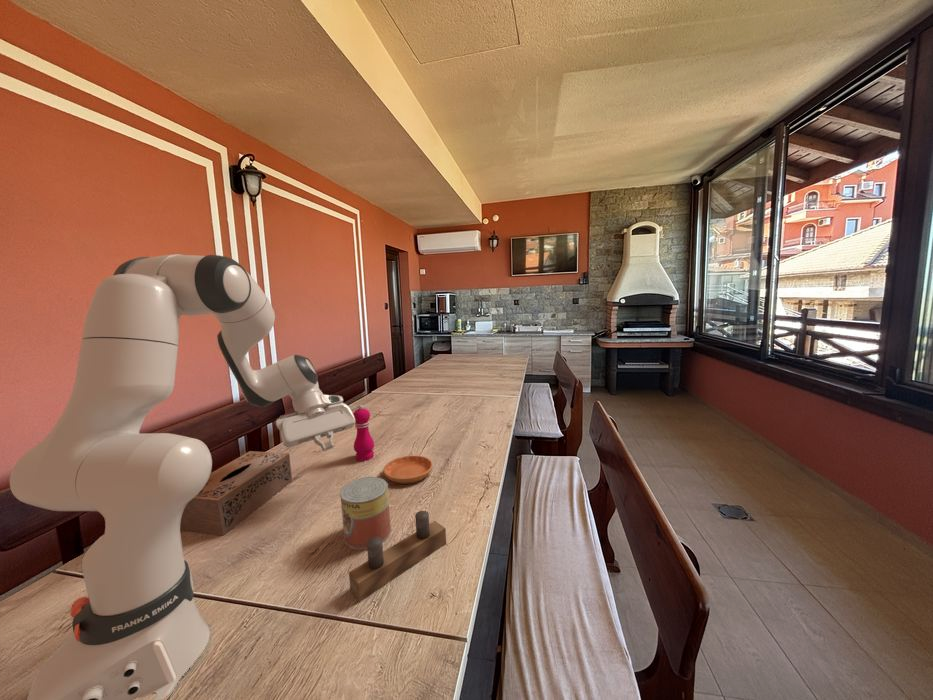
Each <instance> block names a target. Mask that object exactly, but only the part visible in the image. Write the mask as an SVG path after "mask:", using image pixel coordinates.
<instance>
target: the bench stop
mask: <svg viewBox="0 0 933 700" xmlns="http://www.w3.org/2000/svg"><path fill="white" fill-rule="evenodd" d="M414 517H415V518H414V519H415V532H413V533H411V534H410V535H408V536H407V537H405V538H403V539H402V540H400V541H399V542H397V543H395V544H393V545H391V546H390V547H388V548H387V549H385V550H384V548H383V542H382V539H381V538H380V537H372V538H370V539H369V540H368V541H367V549H366V551H367V560H366V561H365V562H364V563H362V564H360V565H358V566H356V567H355V568H354V569H352V570H350V571H348V579H349V588H350V591H351V592H352V594H353V595H354V596H355V597H356V598H357V600H358V601H359V602H362V601H363V600H364V599H366V598H368V597H369V596H370V595H371V596H372V594H374V593H375V592H376V591H379V589H381V588H382V587H385V586H386V585H387V584H388V583H390V582H391V581H393V580H394V579H396V578H397V577H399V576H400V575H402V574H404V572H406V571H408V570H409V569H411V568H412V567H414V566H415V565H417V564H418V563H420V562H421V561H422V560H424V559H426V558H427V557H429V556H430V555H431V554H433V553H435V552H436V551H437V550H439V549H440V548H442V547H443V546H445V545H446V544H447V534H446V533H447V531H446V527H444V526H443V525H442V524H440V523H439V522H437V521H436V520H433V521H432V522H430V514H429V512H428V511H427V510H420V511H418V512H416V513H415V516H414Z"/></svg>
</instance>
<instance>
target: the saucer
mask: <svg viewBox="0 0 933 700" xmlns="http://www.w3.org/2000/svg"><path fill="white" fill-rule="evenodd" d="M432 470H433V461H431V459H429V458H428V457H425V456H422V455H404V456H400V457H397V458H394V459H392V460H389V462H388V463H386V464H385V465H384V466H383V475H384V477H386V479H388V480H389V481H391V482H392V483H394V484H399V485H400V484H401V485H408V484H415V483H416V482H420V481H422V480H423V479H425V478H426V477H427V476H429V474H430V473H431V472H432Z"/></svg>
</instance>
